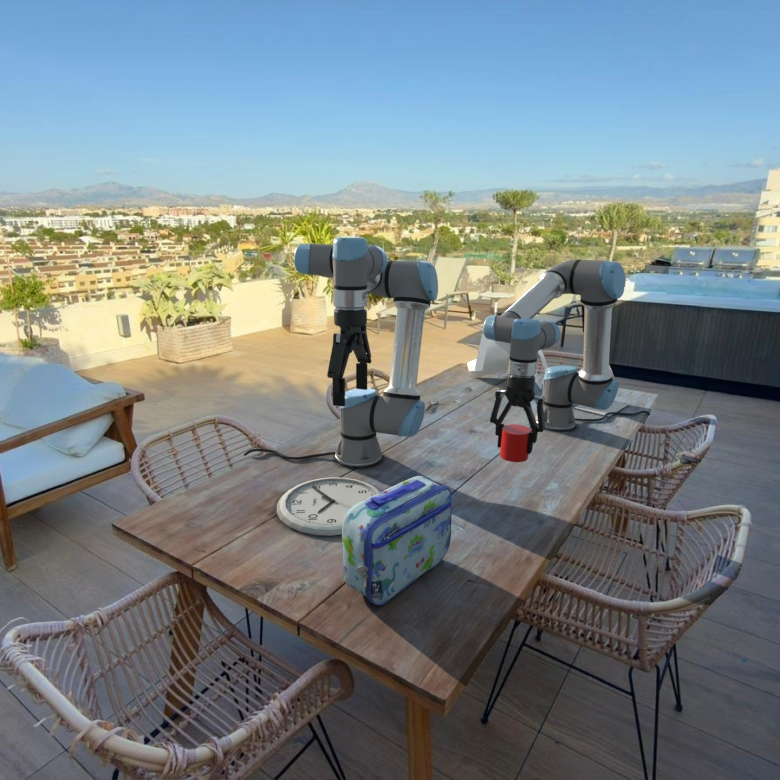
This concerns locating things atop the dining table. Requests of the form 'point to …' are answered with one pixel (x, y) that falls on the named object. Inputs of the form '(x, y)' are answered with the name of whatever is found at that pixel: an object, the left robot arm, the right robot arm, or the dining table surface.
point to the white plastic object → (496, 359)
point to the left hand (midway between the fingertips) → (350, 396)
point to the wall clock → (322, 504)
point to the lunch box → (395, 537)
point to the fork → (432, 403)
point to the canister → (514, 443)
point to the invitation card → (613, 408)
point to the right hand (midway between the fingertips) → (514, 448)
